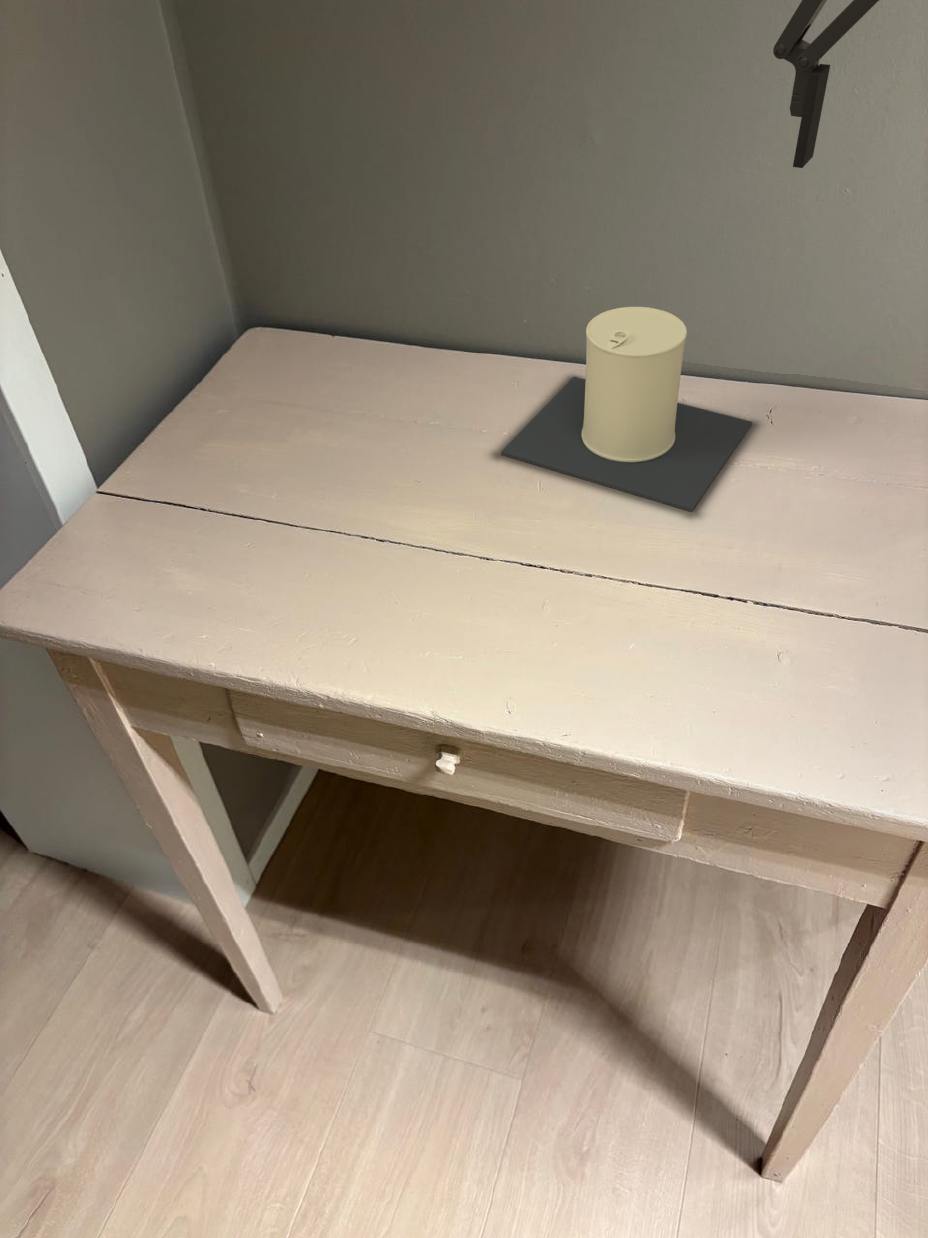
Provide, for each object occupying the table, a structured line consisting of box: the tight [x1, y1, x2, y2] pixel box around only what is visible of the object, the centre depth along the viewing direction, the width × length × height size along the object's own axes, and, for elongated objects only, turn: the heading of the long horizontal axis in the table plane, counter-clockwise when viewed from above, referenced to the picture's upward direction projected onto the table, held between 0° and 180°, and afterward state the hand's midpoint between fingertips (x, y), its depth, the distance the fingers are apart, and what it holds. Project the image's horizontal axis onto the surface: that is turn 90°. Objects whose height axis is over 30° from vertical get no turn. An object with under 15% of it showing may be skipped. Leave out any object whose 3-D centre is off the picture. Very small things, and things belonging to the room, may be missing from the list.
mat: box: [500, 376, 753, 513], centre depth 96 cm, size 20×16×1 cm
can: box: [582, 306, 688, 463], centre depth 91 cm, size 9×9×12 cm
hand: (892, 174), depth 72 cm, fingers open, 13 cm apart
